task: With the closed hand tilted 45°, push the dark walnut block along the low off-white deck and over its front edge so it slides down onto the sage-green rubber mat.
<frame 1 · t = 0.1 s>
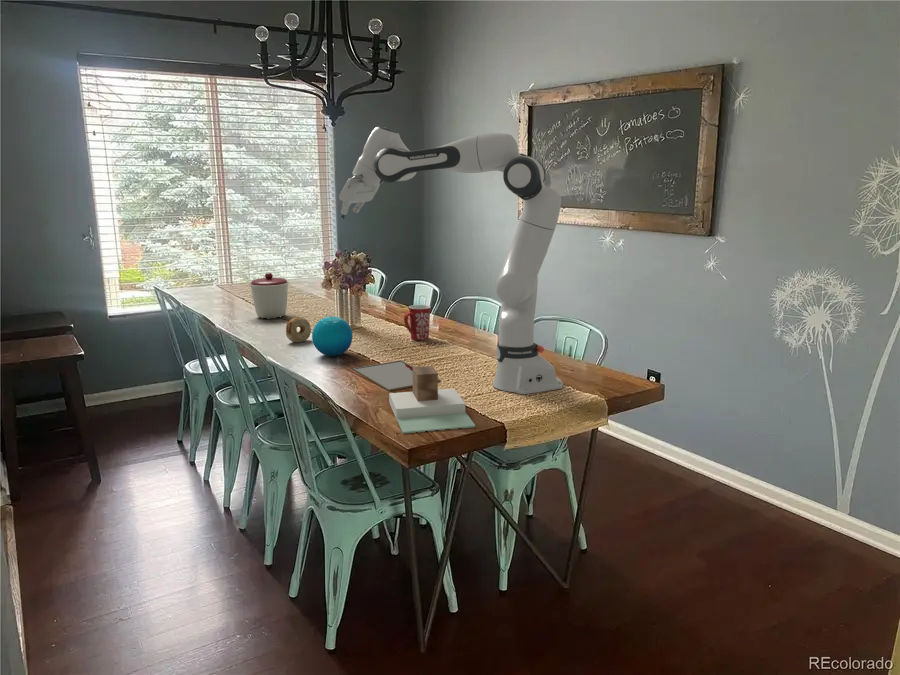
hand: (349, 213, 221), 54 cm above the table, tool tilted 30°, fingers open, 8 cm apart
deck: (426, 407, 199), on the table
mug: (416, 339, 279), on the table
mat: (435, 423, 187), on the table
walnut block: (425, 396, 201), point 3 cm above the table, touching deck
decorative orb: (333, 356, 255), on the table
canister: (271, 317, 320), on the table
picture frame: (395, 377, 231), on the table
stone disc: (299, 342, 275), on the table
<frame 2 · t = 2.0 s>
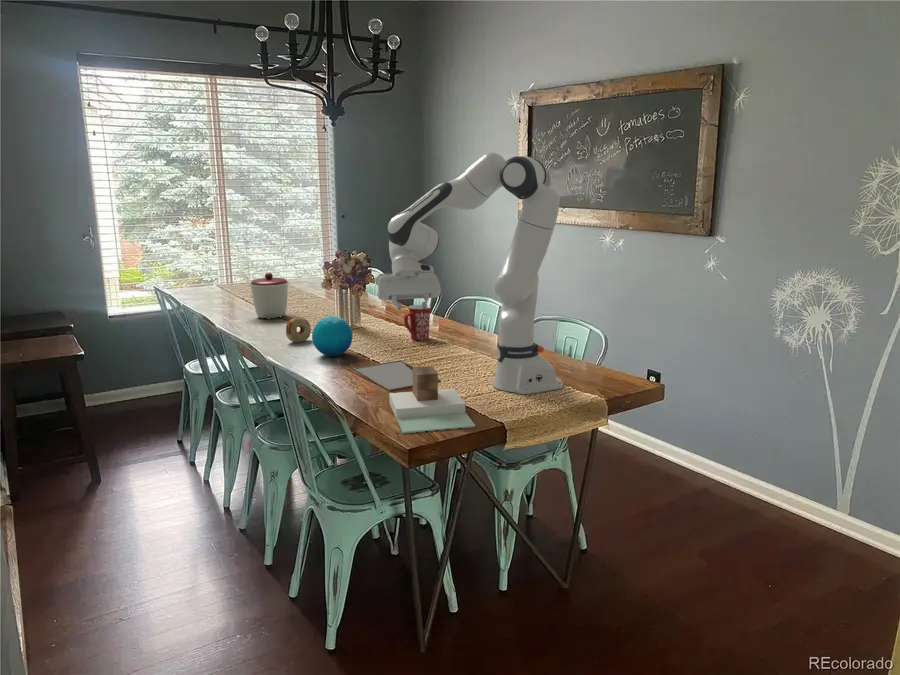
hand: (411, 308, 214), 25 cm above the table, tool tilted 45°, fingers open, 7 cm apart
nothing on the table moved.
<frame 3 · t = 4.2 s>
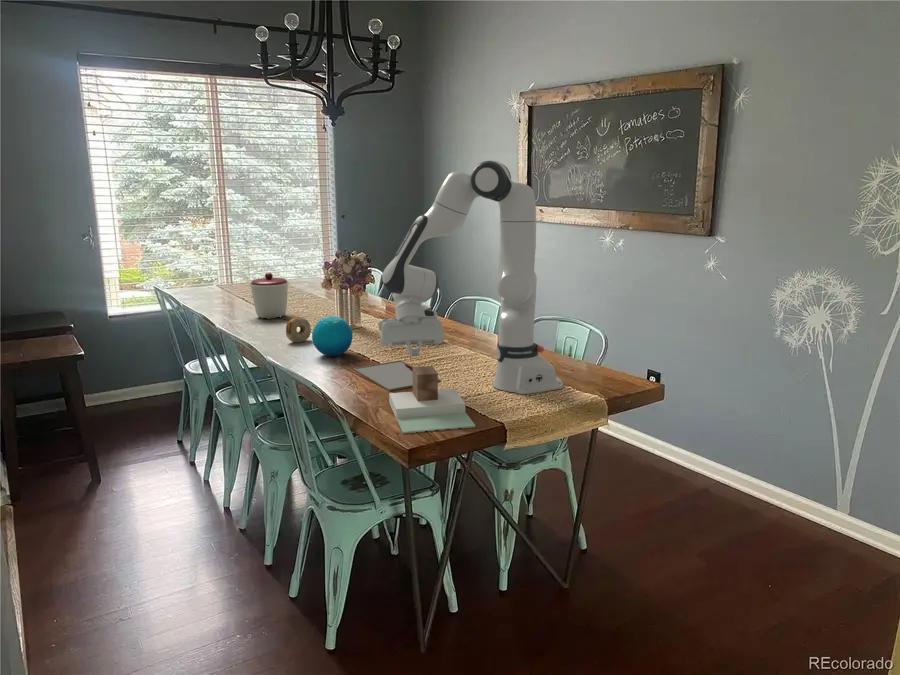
hand: (415, 355, 213), 11 cm above the table, tool tilted 45°, fingers closed
nothing on the table moved.
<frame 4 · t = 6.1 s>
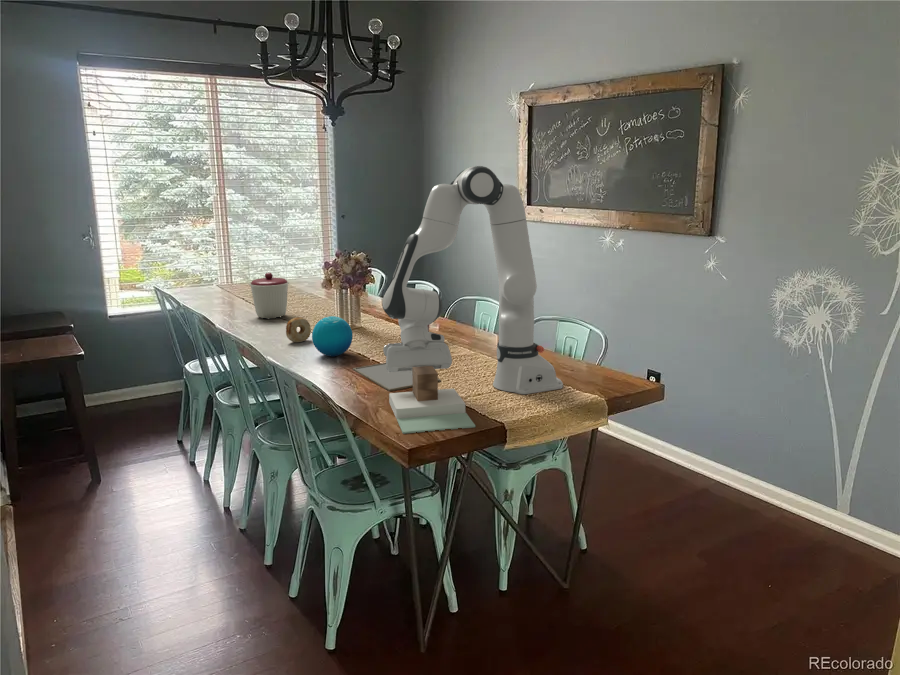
hand: (421, 381, 204), 6 cm above the table, tool tilted 45°, fingers closed, pressing on walnut block
walnut block: (425, 396, 201), point 3 cm above the table, touching deck, gripper
everything else where it was.
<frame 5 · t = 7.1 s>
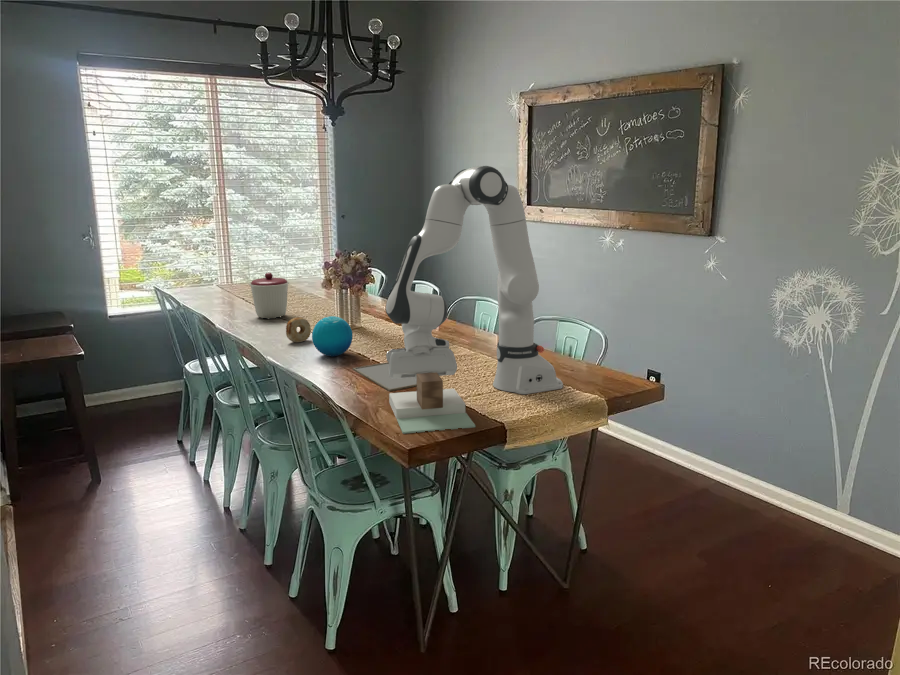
hand: (426, 388, 198), 6 cm above the table, tool tilted 45°, fingers closed, pressing on walnut block
walnut block: (429, 403, 194), point 3 cm above the table, touching gripper
everything else where it was.
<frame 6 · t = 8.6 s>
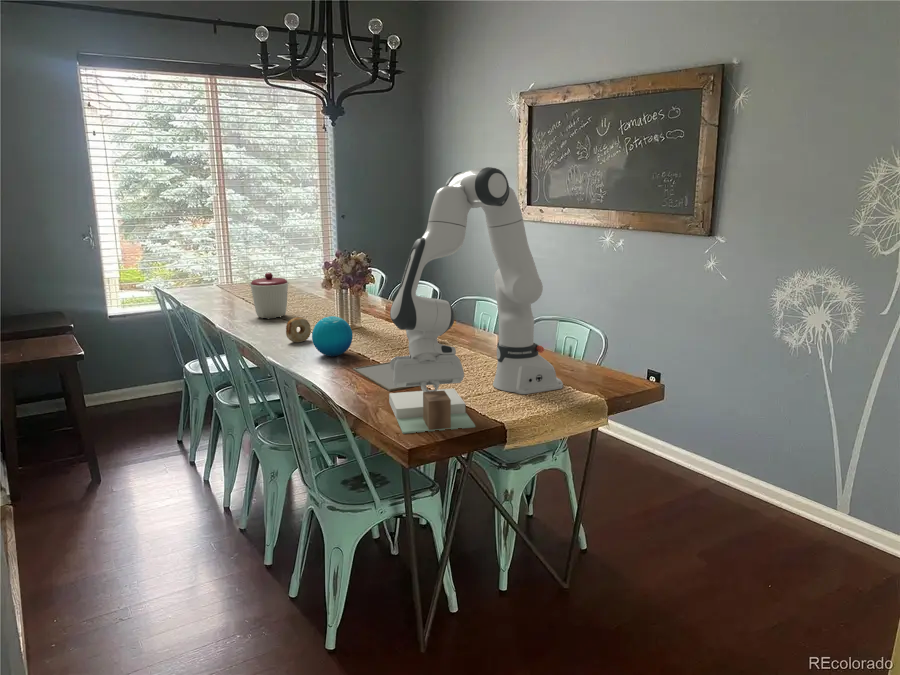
hand: (432, 397, 190), 6 cm above the table, tool tilted 45°, fingers closed
walnut block: (433, 404, 189), point 4 cm above the table, tilted 90°, touching mat
everything else where it was.
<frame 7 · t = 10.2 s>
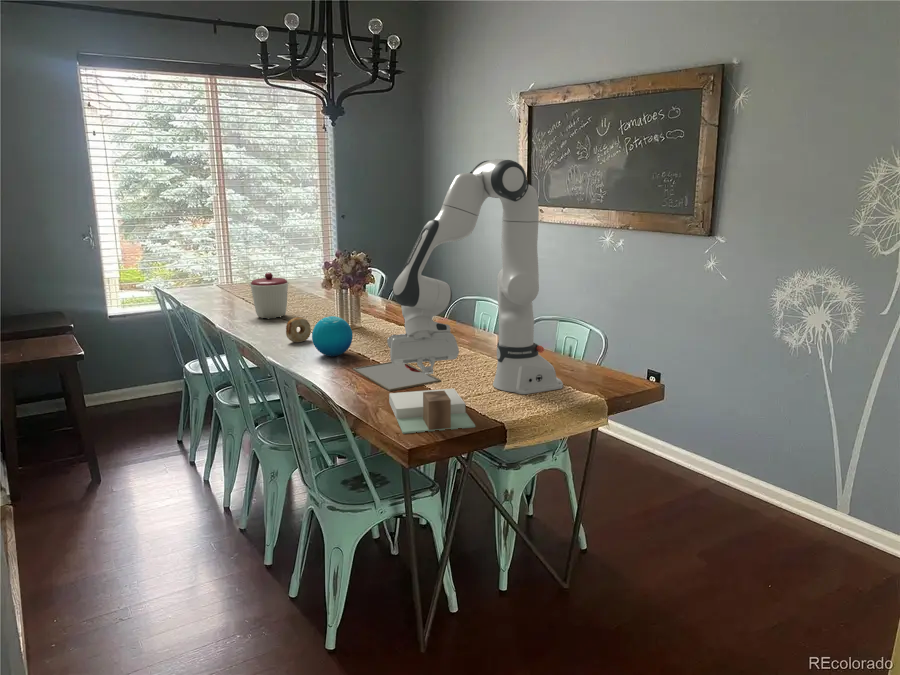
hand: (428, 373, 196), 11 cm above the table, tool tilted 45°, fingers closed
nothing on the table moved.
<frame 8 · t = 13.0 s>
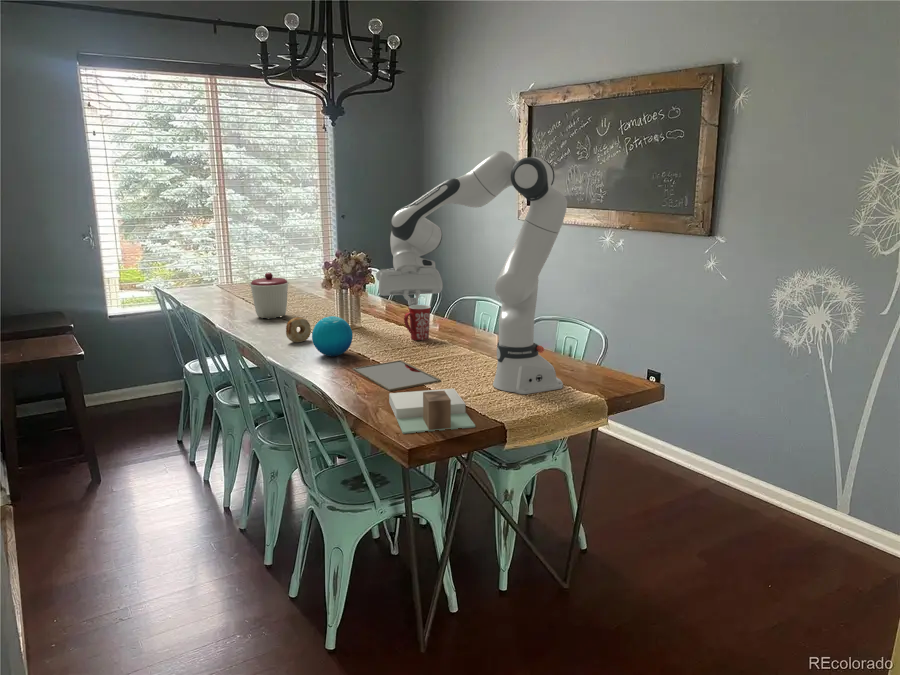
hand: (413, 304, 211), 27 cm above the table, tool tilted 45°, fingers closed
nothing on the table moved.
at the end: walnut block touching mat; walnut block inside the target area (2.9 cm from its centre), point 4.5 cm above the table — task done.
